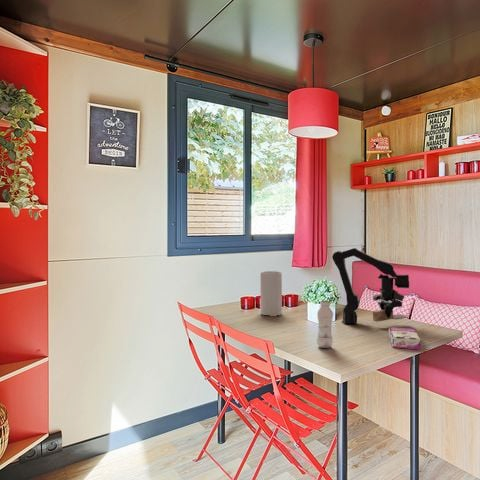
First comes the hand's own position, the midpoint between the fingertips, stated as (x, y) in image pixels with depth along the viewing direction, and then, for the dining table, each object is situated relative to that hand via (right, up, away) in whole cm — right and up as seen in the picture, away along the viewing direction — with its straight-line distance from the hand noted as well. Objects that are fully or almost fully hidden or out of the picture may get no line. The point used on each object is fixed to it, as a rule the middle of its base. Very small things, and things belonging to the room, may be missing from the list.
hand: (386, 317), depth 194 cm
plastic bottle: (-40, -7, -32) cm, 51 cm away
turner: (+1, -1, 0) cm, 2 cm away
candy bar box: (-1, -3, -19) cm, 20 cm away
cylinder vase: (-58, -4, +29) cm, 65 cm away
